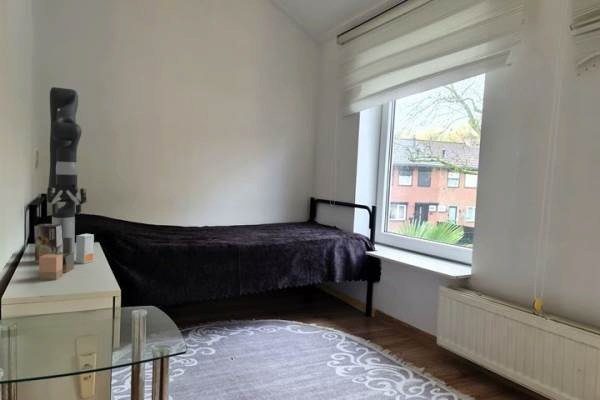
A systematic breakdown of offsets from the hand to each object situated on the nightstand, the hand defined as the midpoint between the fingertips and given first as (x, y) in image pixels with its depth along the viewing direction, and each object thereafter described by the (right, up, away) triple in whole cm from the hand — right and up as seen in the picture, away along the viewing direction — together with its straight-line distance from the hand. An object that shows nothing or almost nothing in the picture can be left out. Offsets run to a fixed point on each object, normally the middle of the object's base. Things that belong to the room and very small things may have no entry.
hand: (66, 213), depth 175 cm
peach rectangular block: (0, -24, -12) cm, 27 cm away
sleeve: (-1, -23, -1) cm, 23 cm away
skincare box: (0, -22, +14) cm, 26 cm away
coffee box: (-13, -21, +11) cm, 27 cm away
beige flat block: (0, -19, -2) cm, 19 cm away
